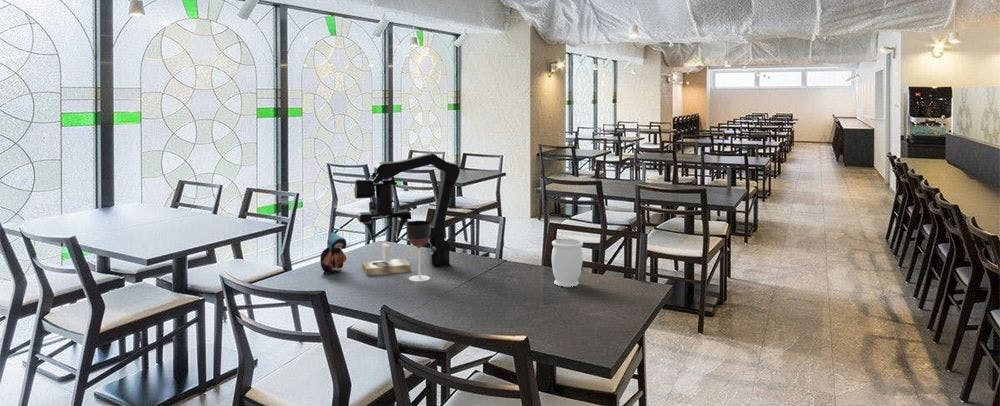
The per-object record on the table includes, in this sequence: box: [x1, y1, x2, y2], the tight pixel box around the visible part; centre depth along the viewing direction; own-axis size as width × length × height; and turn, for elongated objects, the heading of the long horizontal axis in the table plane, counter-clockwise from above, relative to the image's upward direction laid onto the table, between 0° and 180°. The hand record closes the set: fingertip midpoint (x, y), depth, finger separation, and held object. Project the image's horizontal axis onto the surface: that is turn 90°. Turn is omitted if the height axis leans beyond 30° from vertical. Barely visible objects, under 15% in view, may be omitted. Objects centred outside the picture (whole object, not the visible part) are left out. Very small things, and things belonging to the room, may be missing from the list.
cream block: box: [372, 242, 391, 264], centre depth 237 cm, size 6×6×7 cm
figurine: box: [319, 230, 348, 276], centre depth 234 cm, size 10×7×15 cm
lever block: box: [361, 257, 412, 277], centre depth 238 cm, size 16×10×3 cm, turn 112°
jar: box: [551, 238, 584, 288], centre depth 221 cm, size 11×10×15 cm
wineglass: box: [406, 220, 431, 282], centre depth 227 cm, size 8×9×20 cm
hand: (385, 238), depth 237 cm, fingers open, 9 cm apart
